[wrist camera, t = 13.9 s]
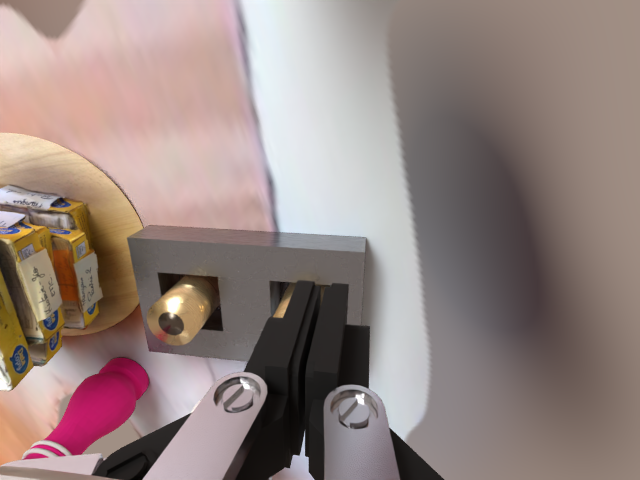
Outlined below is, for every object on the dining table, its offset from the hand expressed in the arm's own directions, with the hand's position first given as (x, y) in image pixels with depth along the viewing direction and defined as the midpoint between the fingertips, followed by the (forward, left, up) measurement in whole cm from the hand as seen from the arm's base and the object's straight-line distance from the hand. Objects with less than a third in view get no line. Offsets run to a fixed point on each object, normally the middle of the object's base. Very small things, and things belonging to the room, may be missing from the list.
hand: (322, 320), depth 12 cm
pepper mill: (+28, -30, -25) cm, 48 cm away
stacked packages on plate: (+9, -36, -26) cm, 45 cm away
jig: (+13, -11, -25) cm, 30 cm away
